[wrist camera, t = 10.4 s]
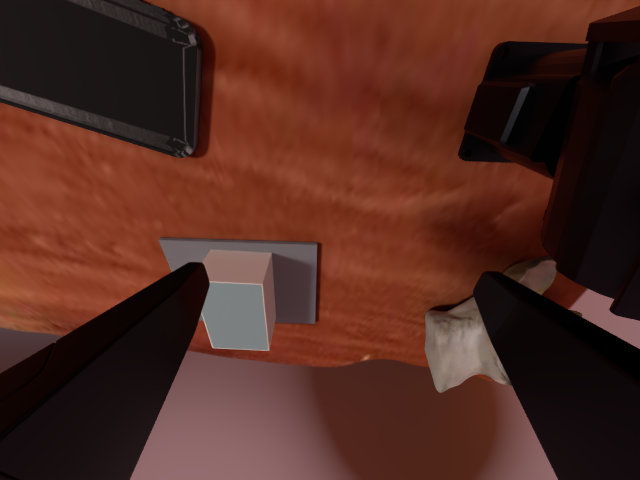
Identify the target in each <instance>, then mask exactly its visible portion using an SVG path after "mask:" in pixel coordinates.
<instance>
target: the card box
mask: <svg viewBox="0 0 640 480" xmlns="http://www.w3.org/2000/svg"><path fill="white" fill-rule="evenodd" d="M202 263H203V264H204V265H205V268H206V272H207V275H208V278H209V282H210V286H209V290H208V293H207V296H206V300H205V303H204V306H203V309H202V312H201V314H202V317H203V320H204V323H205V326H206V329H207V332H208V335H209V338H210V341H211V344H212V347H213V348H222V349H243V350H264V351H269V350H270V345H271V340H272V335H273V330H274V325H275V320H276V309H275V294H274V279H273V264H272V253H267V252H249V251H231V250H213V249H211V250H210V251H209V253H208V254H207V256H206V257H205V259H204V260H203V262H202Z"/></svg>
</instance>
